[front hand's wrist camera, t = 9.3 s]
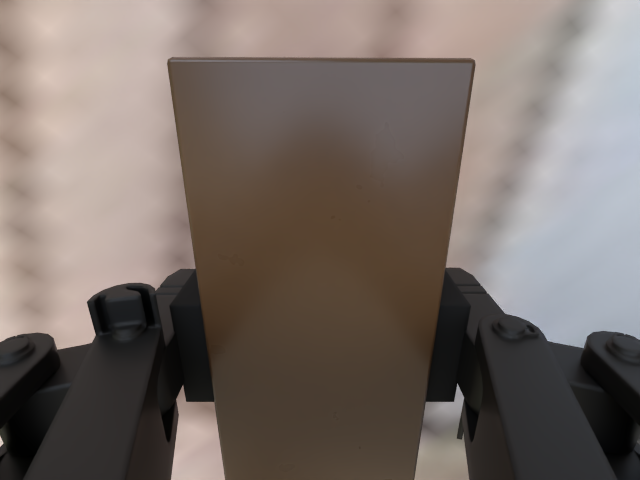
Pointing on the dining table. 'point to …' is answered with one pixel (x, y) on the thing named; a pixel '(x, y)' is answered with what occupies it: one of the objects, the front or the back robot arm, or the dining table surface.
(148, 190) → the dining table surface
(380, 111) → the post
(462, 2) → the dining table surface
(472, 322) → the front robot arm
